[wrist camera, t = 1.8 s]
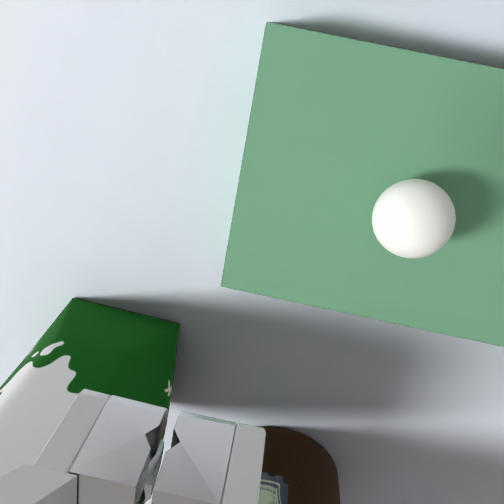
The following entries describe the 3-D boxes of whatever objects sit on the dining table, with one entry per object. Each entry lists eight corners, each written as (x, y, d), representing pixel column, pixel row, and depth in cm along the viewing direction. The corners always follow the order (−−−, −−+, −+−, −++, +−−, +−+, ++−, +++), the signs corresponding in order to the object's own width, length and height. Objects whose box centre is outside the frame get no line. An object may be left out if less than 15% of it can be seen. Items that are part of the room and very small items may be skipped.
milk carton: (60, 281, 31) (-298, 650, 13) (198, 315, 30) (34, 734, 13) (56, 385, 34) (-221, 779, 17) (179, 415, 34) (33, 844, 16)
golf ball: (380, 162, 22) (391, 185, 19) (455, 177, 22) (479, 203, 19) (359, 230, 24) (366, 262, 20) (429, 245, 24) (447, 280, 20)
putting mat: (229, 261, 29) (220, 286, 26) (271, 22, 23) (266, 22, 20) (598, 339, 28) (629, 373, 25) (737, 115, 22) (796, 128, 20)
